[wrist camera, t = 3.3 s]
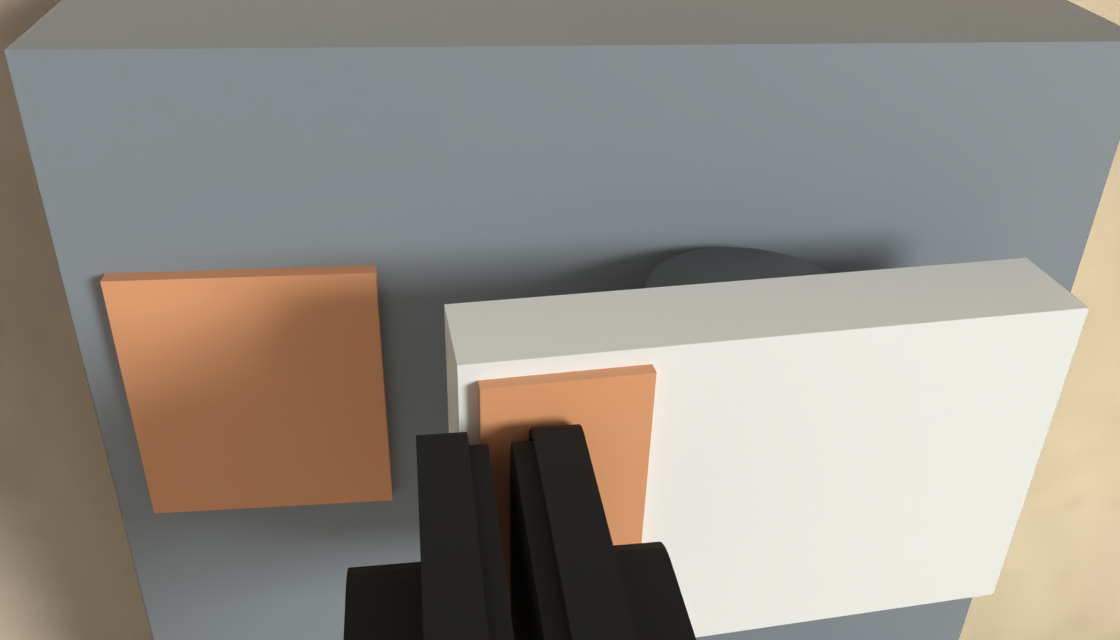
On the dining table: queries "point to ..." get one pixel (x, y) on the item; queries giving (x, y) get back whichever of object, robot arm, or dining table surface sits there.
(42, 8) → the dining table surface
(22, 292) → the dining table surface
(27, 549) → the dining table surface
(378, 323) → the console
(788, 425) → the switch
